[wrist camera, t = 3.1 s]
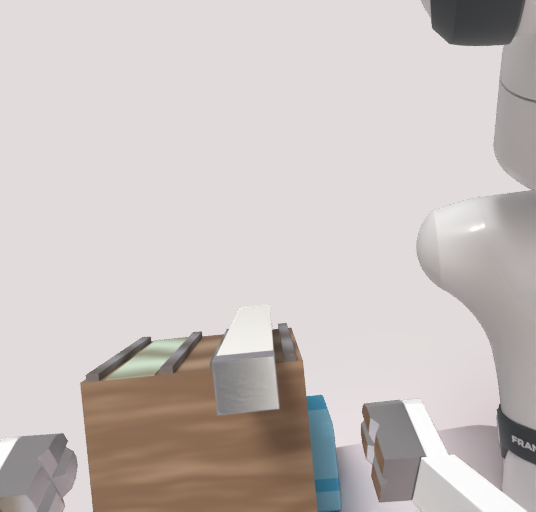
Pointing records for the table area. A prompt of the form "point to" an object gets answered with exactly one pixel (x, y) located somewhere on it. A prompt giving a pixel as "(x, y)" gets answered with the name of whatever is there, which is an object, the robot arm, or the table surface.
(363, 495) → the table surface
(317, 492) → the blue box
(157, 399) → the slot shelf
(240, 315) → the bar
